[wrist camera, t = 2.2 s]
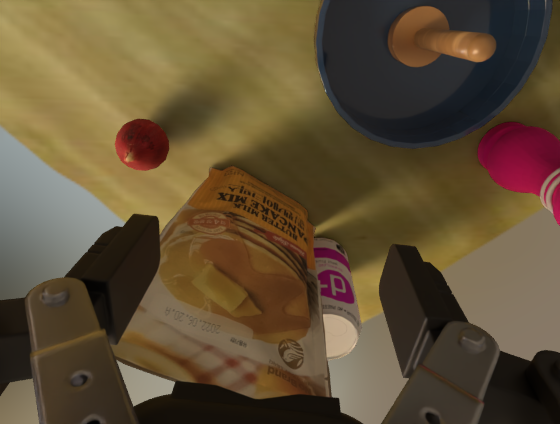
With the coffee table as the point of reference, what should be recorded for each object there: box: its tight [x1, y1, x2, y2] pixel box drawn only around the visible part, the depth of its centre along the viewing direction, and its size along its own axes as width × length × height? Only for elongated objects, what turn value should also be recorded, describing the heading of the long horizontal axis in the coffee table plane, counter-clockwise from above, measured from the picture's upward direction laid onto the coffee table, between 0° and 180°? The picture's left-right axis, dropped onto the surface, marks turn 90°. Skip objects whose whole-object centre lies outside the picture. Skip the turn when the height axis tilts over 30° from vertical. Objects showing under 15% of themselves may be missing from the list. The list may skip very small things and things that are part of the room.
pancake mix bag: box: [111, 165, 332, 399], centre depth 38 cm, size 7×19×28 cm, turn 58°
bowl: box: [314, 0, 552, 149], centre depth 38 cm, size 21×21×6 cm
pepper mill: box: [478, 122, 560, 225], centre depth 37 cm, size 7×7×20 cm
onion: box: [115, 119, 169, 171], centre depth 43 cm, size 6×6×8 cm
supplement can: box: [313, 238, 362, 360], centre depth 48 cm, size 8×8×15 cm
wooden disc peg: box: [388, 6, 496, 67], centre depth 32 cm, size 6×6×17 cm
